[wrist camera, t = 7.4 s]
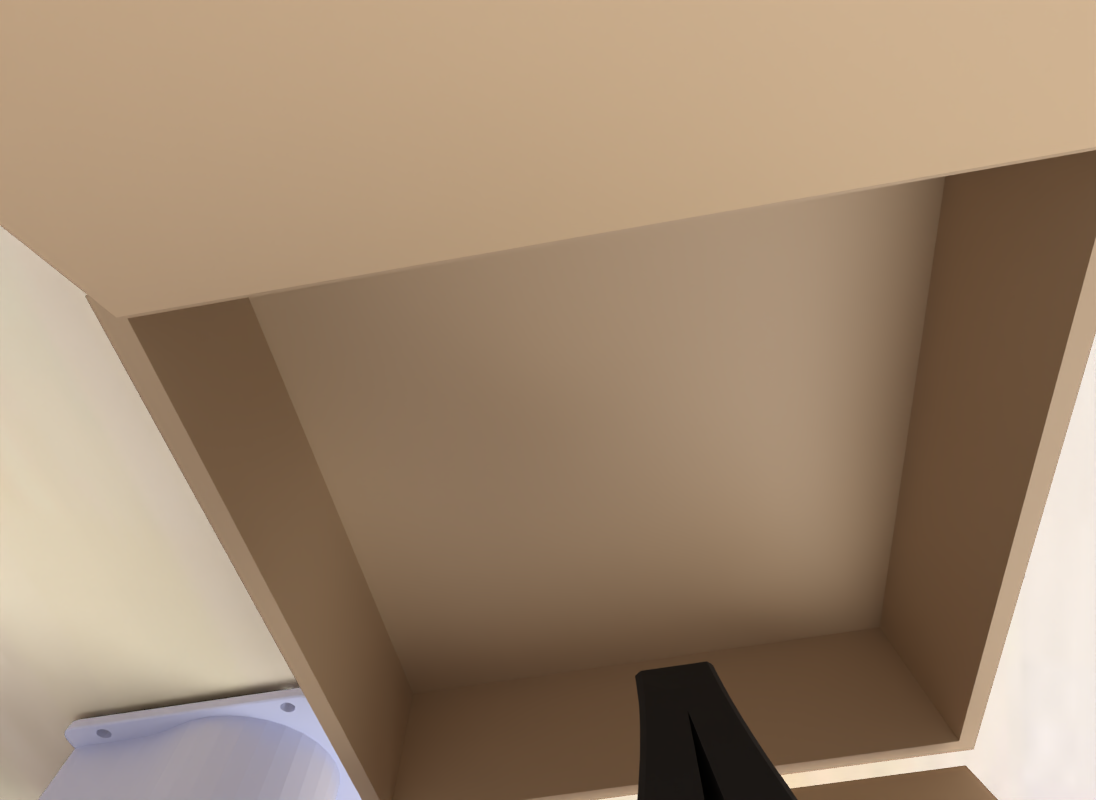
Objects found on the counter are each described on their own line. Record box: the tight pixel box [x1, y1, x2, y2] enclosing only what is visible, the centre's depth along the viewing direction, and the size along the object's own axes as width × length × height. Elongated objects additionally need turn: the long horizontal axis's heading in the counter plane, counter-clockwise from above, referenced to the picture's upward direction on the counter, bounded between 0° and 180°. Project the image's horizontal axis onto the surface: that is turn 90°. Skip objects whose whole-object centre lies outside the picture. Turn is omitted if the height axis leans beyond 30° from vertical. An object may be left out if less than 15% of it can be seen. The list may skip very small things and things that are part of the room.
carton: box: [85, 147, 1096, 800], centre depth 15 cm, size 18×17×4 cm
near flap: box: [0, 0, 1096, 317], centre depth 6 cm, size 16×6×1 cm
